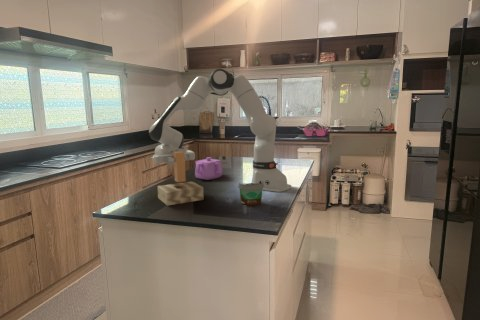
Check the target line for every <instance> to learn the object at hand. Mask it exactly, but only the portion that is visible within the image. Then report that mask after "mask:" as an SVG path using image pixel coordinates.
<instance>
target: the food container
mask: <svg viewBox="0 0 480 320" xmlns="http://www.w3.org/2000/svg"><path fill="white" fill-rule="evenodd" d="M237 188H239V197H240V204H241V205H242V206H244V205H246V207H257V205H258V206H260V205H261V204H262V197H263V190H262V189H263V188H264V183H263V181H262V183H257V184H256V183H251V182H249V183H246V184H245V183H244V184H243V183H240V182H238V185H237Z"/></svg>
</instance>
